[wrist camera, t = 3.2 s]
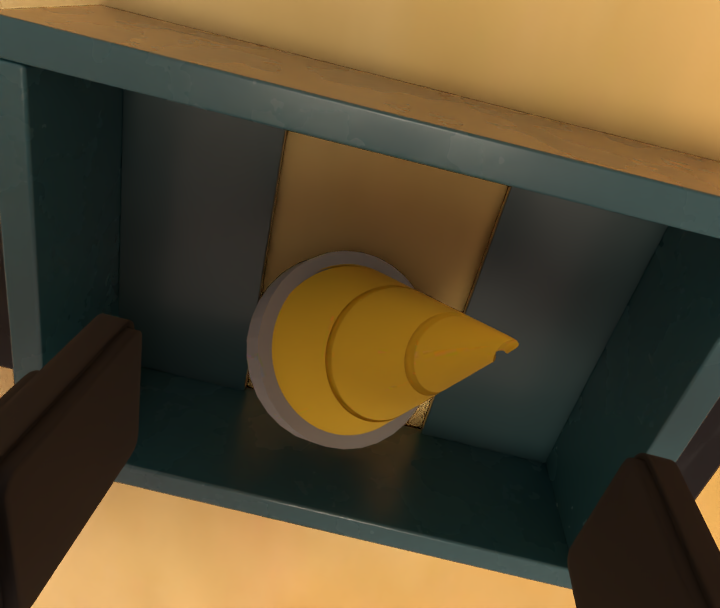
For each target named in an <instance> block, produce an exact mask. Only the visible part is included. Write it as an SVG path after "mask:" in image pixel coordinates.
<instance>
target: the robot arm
mask: <svg viewBox="0 0 720 608" xmlns="http://www.w3.org/2000/svg"><path fill="white" fill-rule="evenodd" d="M141 353H142V333H141V332H140V331H138V330H135V329H134V324H133V322H132V321H131V320H127V319H123V318H119V317H115V316H111V315H108V314H104V313H102V314H99V315H97V316H96V317H95V318H94V319H93V320H92V321H91V322H90V323H89V324H88V325H87V326H86V327H84V328H83V329H82V330H81V331H80V332H79V333H78V334H77V335H76V336H75V337H74V338H73V339H72V340H71V341H70V342H69V343H68V344H67V345H66V346H65V347H64V348H63V349H62V350H61V351H60V352H58V353H57V354H56V355H55V356H54V357H53V358H52V359H51V360H50V361H49V362H48V363H47V364H46V365H45V366H44V367H43V368H42V369H41V370H40V371H39V370H35V371H31V372H29V373H28V374H26V375H25V376H24V377H23V378H21V379H20V380H19V381H18V382H17V383H16V384H15V385H14V386H13V387H12V388H11V389H10V390H9V391H8V392H7V393H5V394H4V395H3V396H2V397H1V398H0V608H30V607H31V606H32V605H33V603H34V602H35V600H36V599H37V597H38V596H39V594H40V593H41V591H42V590H43V588H44V587H45V585H46V584H47V582H48V581H49V579H50V578H51V576H52V575H53V573H54V572H55V570H56V569H57V567H58V565H59V564H60V562H61V561H62V559H63V558H64V556H65V555H66V553H67V552H68V550H69V549H70V547H71V546H72V544H73V543H74V541H75V540H76V538H77V537H78V535H79V534H80V532H81V531H82V529H83V528H84V526H85V525H86V523H87V521H88V520H89V518H90V517H91V515H92V514H93V512H94V511H95V509H96V508H97V506H98V505H99V503H100V502H101V500H102V499H103V497H104V496H105V494H106V493H107V491H108V490H109V488H110V487H111V485H112V484H113V482H114V481H115V479H116V478H117V476H118V474H119V473H120V471H121V470H122V468H123V467H124V465H125V464H126V462H127V461H128V459H129V458H130V456H131V455H132V453H133V451H134V449H135V446H136V443H137V440H138V430H139V404H140V379H141ZM567 565H568V571H569V575H570V580H571V585H572V589H573V594H574V599H575V603H576V608H720V551H719V549H718V547H717V545H716V543H715V541H714V539H713V537H712V535H711V533H710V531H709V529H708V527H707V525H706V523H705V521H704V519H703V517H702V514H701V512H700V510H699V508H698V506H697V504H696V502H695V500H694V498H693V496H692V494H691V492H690V490H689V488H688V486H687V484H686V482H685V480H684V478H683V476H682V474H681V471H680V469H679V467H678V466H677V464H676V463H675V462H674V461H672V460H670V459H666V458H662V457H658V456H655V455H651V454H647V453H638V454H637V455H636V456H635V457H634V458H627V459H625V461H624V462H623V463H622V465H621V466H620V468H619V470H618V471H617V473H616V474H615V476H614V478H613V479H612V481H611V482H610V484H609V486H608V487H607V489H606V490H605V492H604V494H603V495H602V497H601V499H600V500H599V502H598V503H597V505H596V507H595V508H594V510H593V511H592V513H591V515H590V516H589V518H588V519H587V521H586V523H585V524H584V526H583V527H582V529H581V531H580V532H579V534H578V535H577V537H576V539H575V540H574V542H573V543H572V545H571V547H570V549H569V552H568V558H567Z"/></svg>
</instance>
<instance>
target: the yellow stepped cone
mask: <svg viewBox="0 0 720 608" xmlns="http://www.w3.org/2000/svg"><path fill="white" fill-rule="evenodd" d="M246 342H247V363H248V369H249V375H250V379H251V382H252V384H253V387H254V389H255V392H256V395H257V397H258V398H259V400H260V402H261V403H262V405H263V406H264V408H265V409H266V411H267V413H268V414H269V415H270V416H271V417H272V418H273V419H274V420H275V421H276V422H277V423H278V424H279V425H280V426H281V427H283V428H284V429H286V430H287V431H289V432H290V433H292V434H293V435H295V436H297V437H300V438H302V439H305V440H307V441H310V442H313V443H316V444H319V445H322V446H325V447H331V448H338V449H354V448H363V447H366V446H369V445H372V444H376V443H378V442H380V441H382V440H384V439H385V438H387V437H389V436H391V435H393V434H394V433H395V432H396V431H397V430H398V429H400V428H401V427H402V426H403V425H404V424H405V423H406V422H407V421H408V420H409V419H410V417H411V416H412V415H413V414H414V412H415V411H416V410H417V408H418V406H419V405H420V404H421V403H423V402H425V401H427V400H428V399H430V398H432V397H433V396H435V395H437V394H439V393H440V392H442V391H444V390H445V389H447V388H449V387H451V386H452V385H454V384H456V383H458V382H459V381H461V380H463V379H464V378H466V377H468V376H470V375H471V374H473V373H475V372H477V371H478V370H480V369H482V368H483V367H485V366H487V365H489V364H490V363H492V362H494V361H495V358H496V351H505V353H509V352H511V351H512V350H514V349H516V348H517V347H518V346H519V343H518V341H517V340H515V339H514V338H512V337H510V336H508V335H506V334H504V333H502V332H500V331H498V330H496V329H494V328H492V327H490V326H488V325H486V324H484V323H482V322H480V321H478V320H476V319H473V318H472V317H470V316H468V315H466V314H464V313H462V312H460V311H458V310H456V309H454V308H452V307H449V306H447V305H445V304H443V303H441V302H439V301H437V300H435V299H433V298H431V297H429V296H427V295H425V294H423V293H421V292H419V291H417V290H415V288H414V287H413V286H412V285H411V283H410V282H409V281H408V280H407V278H406V277H405V276H404V275H403V274H401V273H400V272H399V271H398V270H397V269H396V268H394V267H393V266H392V265H390V264H388V263H387V262H385V261H383V260H381V259H380V258H378V257H375V256H372V255H369V254H365V253H362V252H354V251H337V252H329V253H325V254H322V255H320V256H317V257H314V258H311V259H308V260H306V261H303V262H300V263H298V264H296V265H294V266H293V267H291V268H290V269H288V270H286V271H285V272H283V273H282V274H281V275H280V276H279V277H278V278H277V279H276V280H275V281H274V282H272V283H271V284H270V285H269V287H268V288H267V290H266V291H265V293H264V294H263V296H262V297H261V298H260V300H259V302H258V304H257V306H256V309H255V311H254V313H253V316H252V318H251V322H250V326H249V331H248V336H247V340H246Z"/></svg>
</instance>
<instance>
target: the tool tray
mask: <svg viewBox="0 0 720 608" xmlns="http://www.w3.org/2000/svg"><path fill="white" fill-rule="evenodd" d="M287 130H288V131H292V132H296V133H300V134H304V135H308V136H312V137H316V138H320V139H324V140H328V141H332V142H336V143H340V144H344V145H348V146H351V147H355V148H359V149H363V150H367V151H371V152H375V153H379V154H383V155H387V156H391V157H395V158H399V159H403V160H407V161H411V162H415V163H419V164H423V165H427V166H431V167H435V168H439V169H443V170H447V171H451V172H455V173H459V174H463V175H467V176H471V177H475V178H479V179H483V180H487V181H491V182H495V183H499V184H503V185H507V186H509V188H508V190H507V193H506V196H505V199H504V201H503V204H502V207H501V210H500V212H499V215H498V218H497V221H496V223H495V226H494V229H493V232H492V234H491V237H490V240H489V243H488V245H487V248H486V251H485V254H484V257H483V259H482V262H481V265H480V268H479V270H478V273H477V276H476V279H475V281H474V284H473V287H472V290H471V292H470V295H469V298H468V301H467V303H466V306H465V309H464V312H463V313H464V314H466V315H468V316H470V317H472V318H473V319H476V320H478V321H480V322H482V323H484V324H486V325H488V326H490V327H492V328H494V329H496V330H498V331H500V332H502V333H504V334H506V335H508V336H510V337H512V338H514V339H515V340H517V341H518V343H519V346H518V347H517V348H516V349H514V350H512V351H511V352H509V353H505V351H496V358H495V361H494V362H492V363H490V364H489V365H487V366H485V367H483V368H482V369H480V370H478V371H477V372H475V373H473V374H471V375H470V376H468V377H466V378H464V379H463V380H461V381H459V382H458V383H456V384H454V385H452V386H451V387H449V388H447V389H445V390H444V391H442V392H440V393H439V394H437V395H435V396H433V397H432V400H431V403H430V406H429V408H428V411H427V414H426V417H425V419H424V422H423V425H422V428H421V429H418V428H413V427H409V426H405V425H403V426H402V427H401V428H400V429H398V430H397V431H396V432H395V433H394V434H393V435H391V436H389V437H387V438H385V439H384V440H382V441H380V442H378V443H376V444H372V445H369V446H366V447H363V448H354V449H338V448H331V447H325V446H322V445H319V444H316V443H313V442H310V441H307V440H305V439H302V438H300V437H297V436H295V435H293V434H292V433H290V432H289V431H287V430H286V429H284V428H283V427H281V426H280V425H279V424H278V423H277V422H276V421H275V420H274V419H273V418H272V417H271V416H270V415H269V414H268V413H267V411H266V409H265V408H264V406H263V405H262V403H261V402H260V400H259V398H258V397H257V395H256V392H255V389H251V388H247V387H246V385H247V378H248V372H249V369H248V363H247V342H246V340H247V336H248V331H249V326H250V322H251V318H252V316H253V313H254V311H255V309H256V306H257V304H258V302H259V300H260V297H261V291H262V284H263V278H264V272H265V265H266V259H267V253H268V247H269V240H270V234H271V228H272V222H273V215H274V209H275V203H276V196H277V190H278V184H279V178H280V171H281V165H282V159H283V153H284V146H285V140H286V134H287ZM102 313H104V314H108V315H111V316H115V317H119V318H123V319H127V320H131V321H132V322H133V324H134V329H135V330H138V331H140V332H141V333H142V353H141V379H140V404H139V430H138V440H137V443H136V446H135V449H134V451H133V453H132V455H131V456H130V458H129V459H128V461H127V462H126V464H125V465H124V467H123V468H122V470H121V471H120V473H119V474H118V476H117V478H116V479H115V481H114V482H118V483H122V484H127V485H131V486H135V487H139V488H144V489H148V490H152V491H156V492H161V493H165V494H169V495H173V496H177V497H182V498H186V499H190V500H194V501H199V502H203V503H207V504H211V505H216V506H220V507H224V508H228V509H233V510H237V511H241V512H245V513H250V514H254V515H258V516H262V517H267V518H271V519H275V520H279V521H284V522H288V523H292V524H296V525H301V526H305V527H309V528H313V529H318V530H322V531H326V532H330V533H335V534H339V535H343V536H347V537H352V538H356V539H360V540H364V541H369V542H373V543H377V544H381V545H386V546H390V547H394V548H398V549H403V550H407V551H411V552H415V553H420V554H424V555H428V556H432V557H437V558H441V559H445V560H449V561H454V562H458V563H462V564H466V565H471V566H475V567H479V568H483V569H488V570H492V571H496V572H500V573H505V574H509V575H513V576H517V577H522V578H526V579H530V580H534V581H539V582H543V583H547V584H551V585H556V586H560V587H564V588H568V589H572V585H571V580H570V575H569V571H568V565H567V558H568V552H569V549H570V547H571V545H572V543H573V542H574V540H575V539H576V537H577V535H578V534H579V532H580V531H581V529H582V527H583V526H584V524H585V523H586V521H587V519H588V518H589V516H590V515H591V513H592V511H593V510H594V508H595V507H596V505H597V503H598V502H599V500H600V499H601V497H602V495H603V494H604V492H605V490H606V489H607V487H608V486H609V484H610V482H611V481H612V479H613V478H614V476H615V474H616V473H617V471H618V470H619V468H620V466H621V465H622V463H623V462H624V461H625V459H627V458H634V457H635V456H636V455H637V454H638V453H647V454H651V455H655V456H658V457H662V458H666V459H670V460H672V461H674V462H675V463H676V464H677V466H678V467H679V469H680V471H681V474H682V476H683V478H684V480H685V482H686V484H687V486H688V488H689V490H690V492H691V494H692V496H693V498H694V500H695V499H696V498H697V497H698V495H699V494H700V493H701V491H702V490H703V488H704V487H705V486H706V484H707V483H708V482H709V480H710V479H711V477H712V476H713V475H714V473H715V472H716V471H717V469H718V468H719V466H720V162H717V161H713V160H709V159H705V158H701V157H697V156H693V155H690V154H686V153H682V152H678V151H674V150H670V149H666V148H662V147H658V146H654V145H650V144H646V143H642V142H638V141H634V140H631V139H627V138H623V137H619V136H615V135H611V134H607V133H603V132H599V131H595V130H591V129H587V128H583V127H579V126H575V125H571V124H568V123H564V122H560V121H556V120H552V119H548V118H544V117H540V116H536V115H532V114H528V113H524V112H520V111H516V110H512V109H509V108H505V107H501V106H497V105H493V104H489V103H485V102H481V101H477V100H473V99H469V98H465V97H461V96H457V95H453V94H449V93H446V92H442V91H438V90H434V89H430V88H426V87H422V86H418V85H414V84H410V83H406V82H402V81H398V80H394V79H390V78H387V77H383V76H379V75H375V74H371V73H367V72H363V71H359V70H355V69H351V68H347V67H343V66H339V65H335V64H331V63H327V62H324V61H320V60H316V59H312V58H308V57H304V56H300V55H296V54H292V53H288V52H284V51H280V50H276V49H272V48H268V47H265V46H261V45H257V44H253V43H249V42H245V41H241V40H237V39H233V38H229V37H225V36H221V35H217V34H213V33H209V32H205V31H202V30H198V29H194V28H190V27H186V26H182V25H178V24H174V23H170V22H166V21H162V20H158V19H154V18H150V17H146V16H143V15H139V14H135V13H131V12H127V11H123V10H119V9H115V8H111V7H107V6H103V5H82V6H60V7H39V8H17V9H0V366H1V367H6V368H10V369H13V374H14V385H15V384H16V383H17V382H18V381H19V380H20V379H21V378H23V377H24V376H25V375H26V374H28V373H29V372H31V371H35V370H39V371H40V370H41V369H42V368H43V367H44V366H45V365H46V364H47V363H48V362H49V361H50V360H51V359H52V358H53V357H54V356H55V355H56V354H57V353H58V352H60V351H61V350H62V349H63V348H64V347H65V346H66V345H67V344H68V343H69V342H70V341H71V340H72V339H73V338H74V337H75V336H76V335H77V334H78V333H79V332H80V331H81V330H82V329H83V328H84V327H86V326H87V325H88V324H89V323H90V322H91V321H92V320H93V319H94V318H95V317H96V316H97V315H99V314H102Z"/></svg>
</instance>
